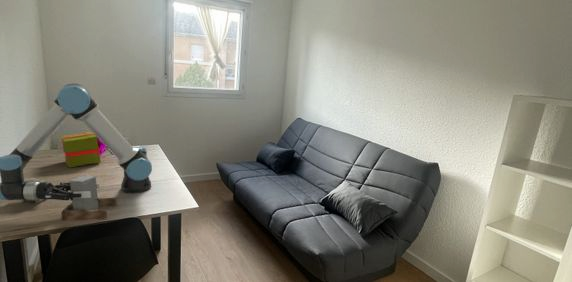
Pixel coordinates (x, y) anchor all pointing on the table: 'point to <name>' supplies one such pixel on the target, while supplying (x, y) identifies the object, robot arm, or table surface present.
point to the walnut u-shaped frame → (89, 211)
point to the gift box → (82, 149)
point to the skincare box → (85, 185)
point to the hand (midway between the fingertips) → (94, 190)
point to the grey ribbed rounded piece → (33, 181)
